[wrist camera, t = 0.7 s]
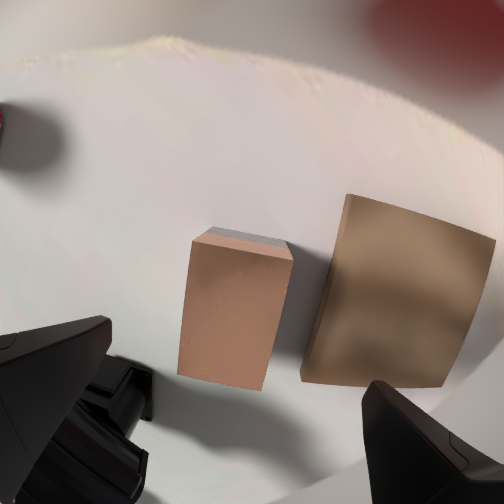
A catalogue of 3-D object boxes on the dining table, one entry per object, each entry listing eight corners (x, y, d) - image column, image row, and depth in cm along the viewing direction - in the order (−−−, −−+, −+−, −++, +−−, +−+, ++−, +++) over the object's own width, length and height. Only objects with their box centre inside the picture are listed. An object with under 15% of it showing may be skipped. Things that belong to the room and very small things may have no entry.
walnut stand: (434, 378, 22) (441, 387, 20) (299, 371, 22) (301, 381, 20) (485, 237, 19) (496, 240, 18) (346, 194, 19) (352, 194, 18)
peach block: (261, 342, 22) (260, 391, 16) (197, 329, 22) (176, 374, 16) (284, 240, 20) (293, 260, 14) (212, 226, 20) (192, 241, 14)
